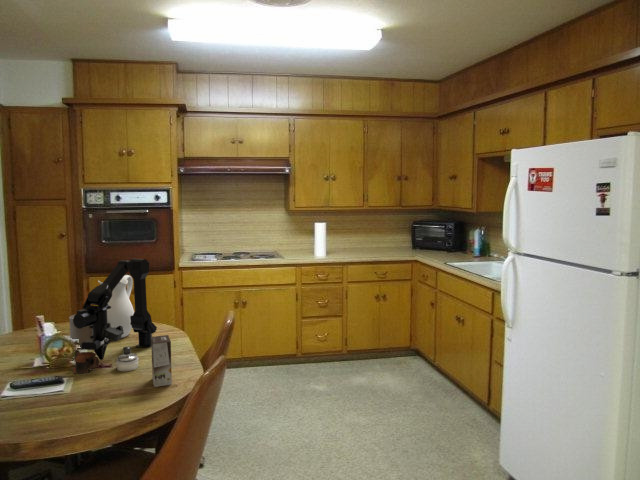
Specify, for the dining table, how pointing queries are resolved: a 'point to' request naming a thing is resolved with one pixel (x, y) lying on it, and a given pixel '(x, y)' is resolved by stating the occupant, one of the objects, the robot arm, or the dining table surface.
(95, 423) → the dining table surface
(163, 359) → the coffee box
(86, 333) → the pillar candle
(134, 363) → the press
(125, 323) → the pitcher
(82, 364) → the pottery mug
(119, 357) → the plunger
